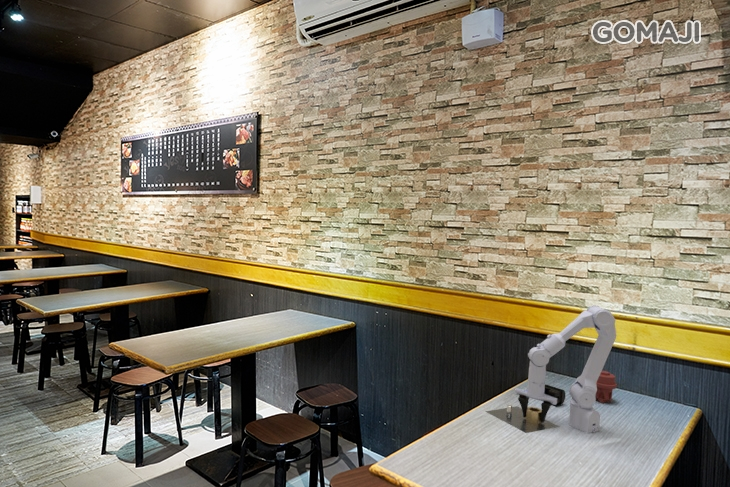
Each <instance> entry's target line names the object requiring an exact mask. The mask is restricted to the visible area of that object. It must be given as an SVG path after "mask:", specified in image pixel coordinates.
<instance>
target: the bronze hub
mask: <svg viewBox="0 0 730 487" xmlns="http://www.w3.org/2000/svg"><path fill="white" fill-rule="evenodd" d="M541 415H542V408H539V407H536V406H535V407H534V406H528V407H527V411H526V421H528V422H530V423H534V424H540V423H542V422H541Z"/></svg>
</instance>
